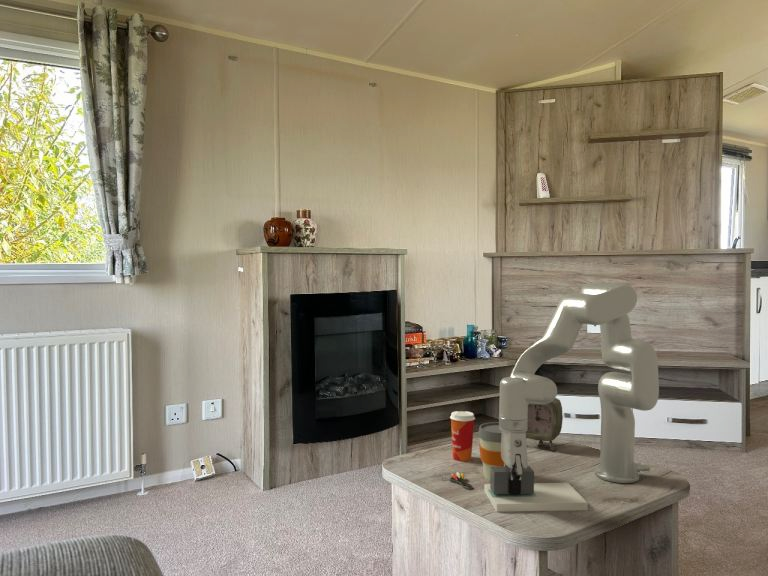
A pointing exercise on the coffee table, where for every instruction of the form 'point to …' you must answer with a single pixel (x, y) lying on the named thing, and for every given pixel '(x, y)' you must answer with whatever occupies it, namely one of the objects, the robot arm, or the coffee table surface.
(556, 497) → the board
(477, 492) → the coffee table surface
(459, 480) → the composite cable
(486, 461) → the reusable coffee cup
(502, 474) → the block
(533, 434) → the tabletop clock
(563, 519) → the coffee table surface
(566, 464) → the coffee table surface
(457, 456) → the coffee cup
